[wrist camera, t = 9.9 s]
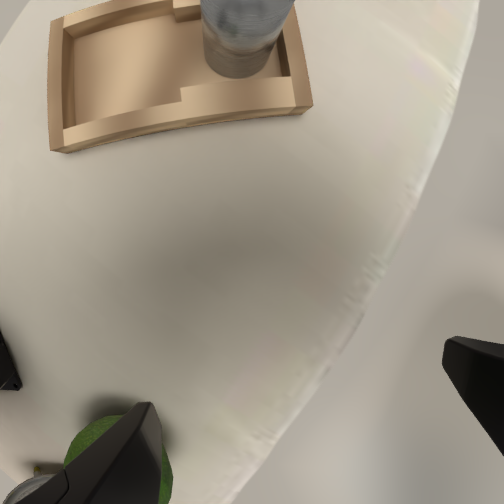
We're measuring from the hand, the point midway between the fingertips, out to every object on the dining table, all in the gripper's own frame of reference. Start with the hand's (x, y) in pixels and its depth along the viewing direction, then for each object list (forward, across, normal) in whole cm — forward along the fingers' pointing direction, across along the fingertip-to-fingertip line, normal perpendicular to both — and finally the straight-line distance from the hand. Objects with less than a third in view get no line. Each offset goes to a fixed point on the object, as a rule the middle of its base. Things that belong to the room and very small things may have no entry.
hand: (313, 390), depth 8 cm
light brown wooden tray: (+12, +4, -14) cm, 19 cm away
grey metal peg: (+12, 0, -14) cm, 18 cm away
